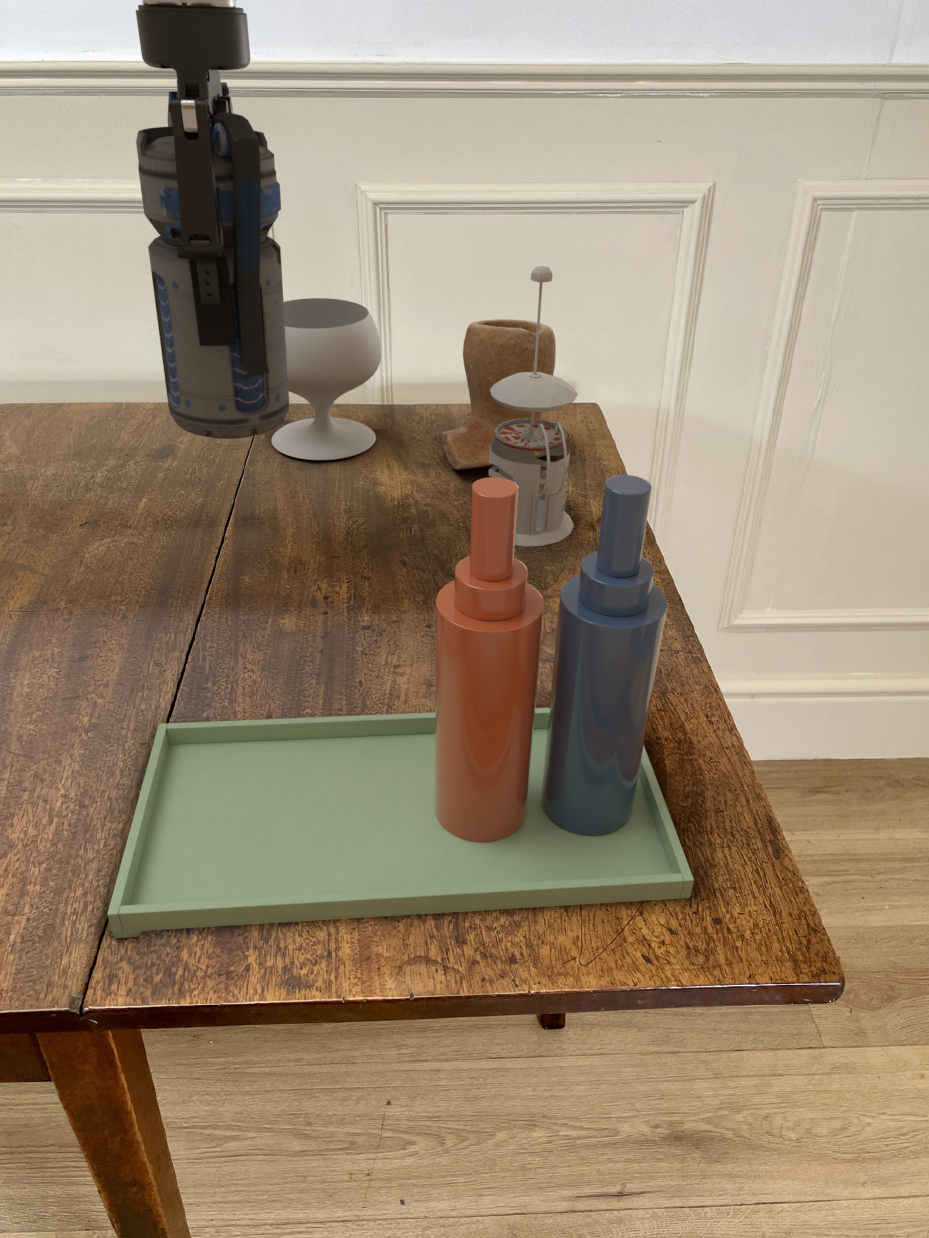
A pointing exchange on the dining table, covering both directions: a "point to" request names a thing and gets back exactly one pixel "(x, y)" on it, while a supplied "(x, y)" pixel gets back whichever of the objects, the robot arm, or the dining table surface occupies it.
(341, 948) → the dining table surface
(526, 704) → the terracotta bottle
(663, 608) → the slate-blue bottle
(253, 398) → the beverage bottle
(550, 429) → the french press
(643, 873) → the tray
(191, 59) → the robot arm
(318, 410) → the chalice
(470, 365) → the brown suede boot
